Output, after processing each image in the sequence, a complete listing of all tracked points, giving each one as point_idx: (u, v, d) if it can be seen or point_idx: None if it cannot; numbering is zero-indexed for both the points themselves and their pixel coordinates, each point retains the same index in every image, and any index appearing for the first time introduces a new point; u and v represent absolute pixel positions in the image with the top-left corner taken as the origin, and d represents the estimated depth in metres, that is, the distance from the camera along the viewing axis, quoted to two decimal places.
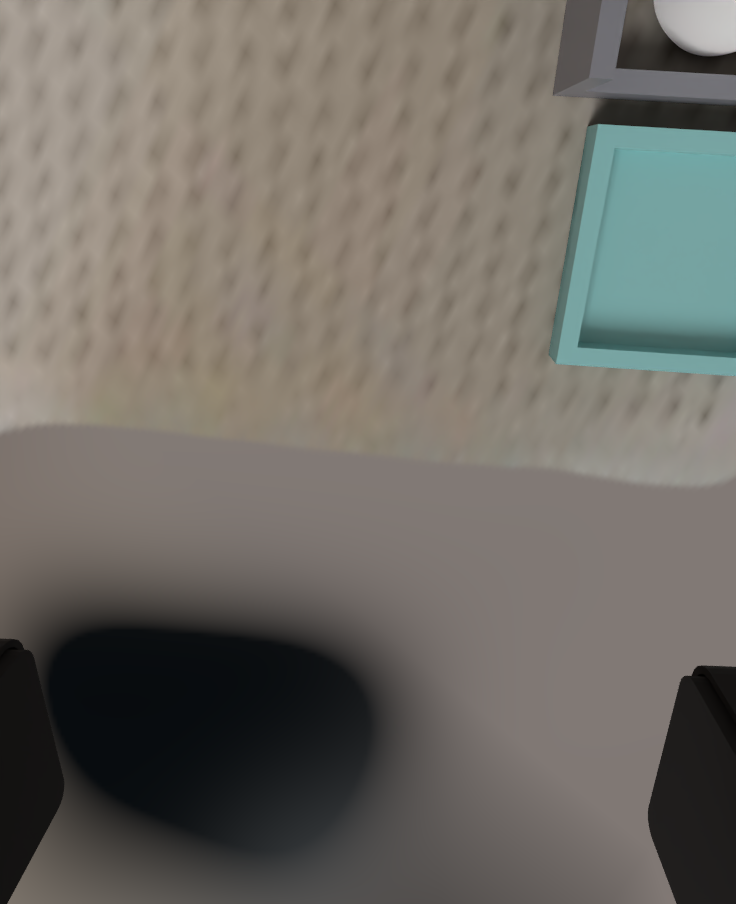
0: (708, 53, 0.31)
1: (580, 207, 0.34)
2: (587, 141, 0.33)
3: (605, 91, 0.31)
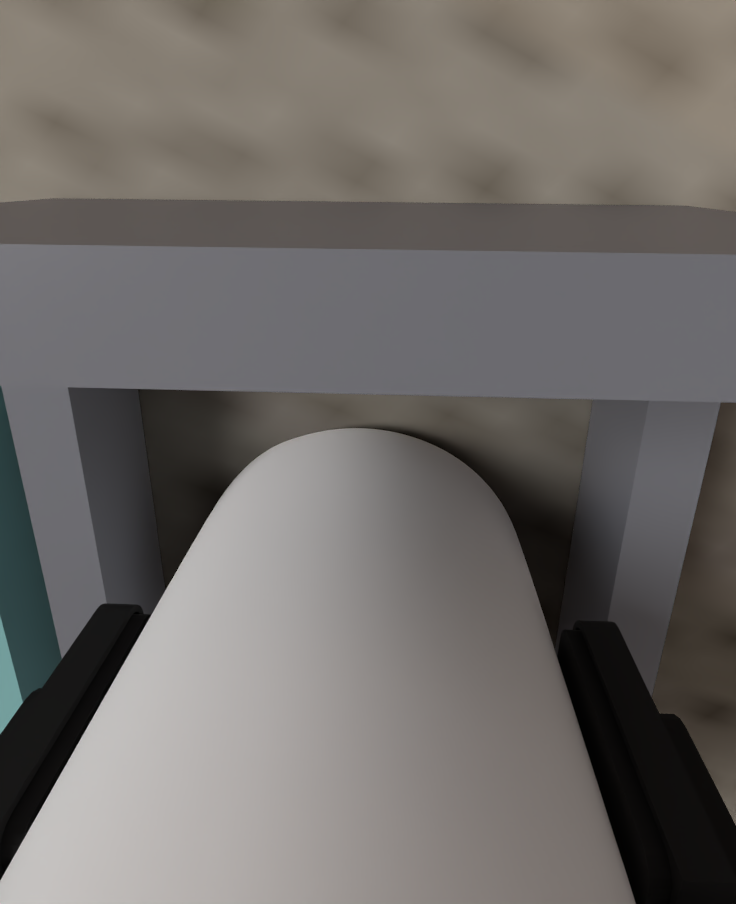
0: None
1: None
2: None
3: None
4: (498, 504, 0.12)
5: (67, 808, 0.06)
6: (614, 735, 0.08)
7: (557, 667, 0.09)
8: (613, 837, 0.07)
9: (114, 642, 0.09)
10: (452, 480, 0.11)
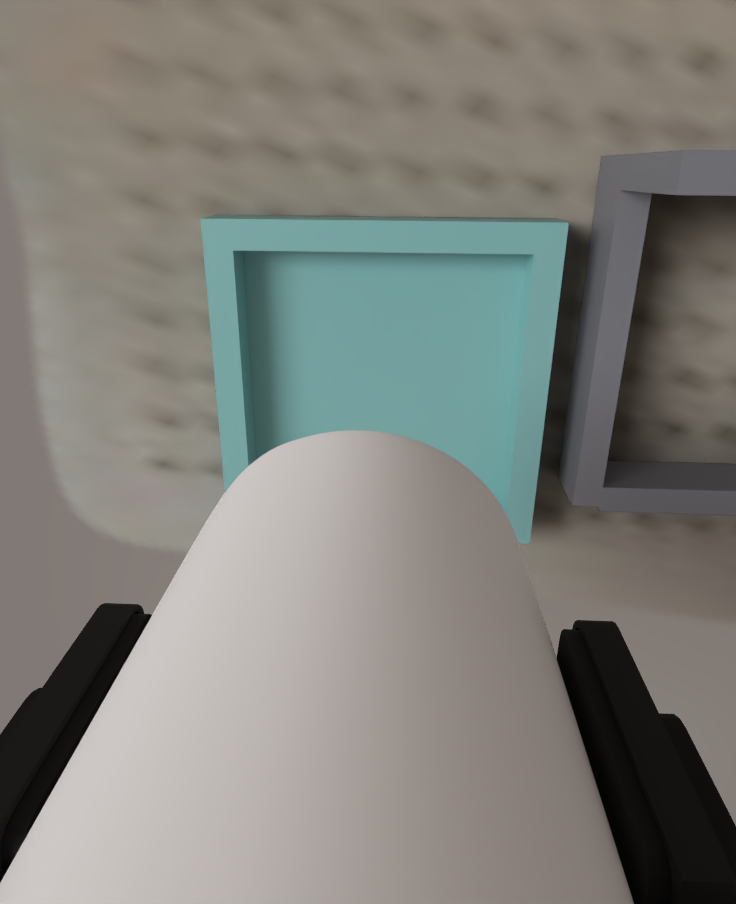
0: None
1: (448, 220, 0.22)
2: (537, 219, 0.22)
3: (615, 222, 0.21)
4: (498, 506, 0.12)
5: (65, 813, 0.06)
6: (614, 735, 0.08)
7: (557, 670, 0.08)
8: (613, 842, 0.06)
9: (114, 642, 0.09)
10: (452, 482, 0.11)
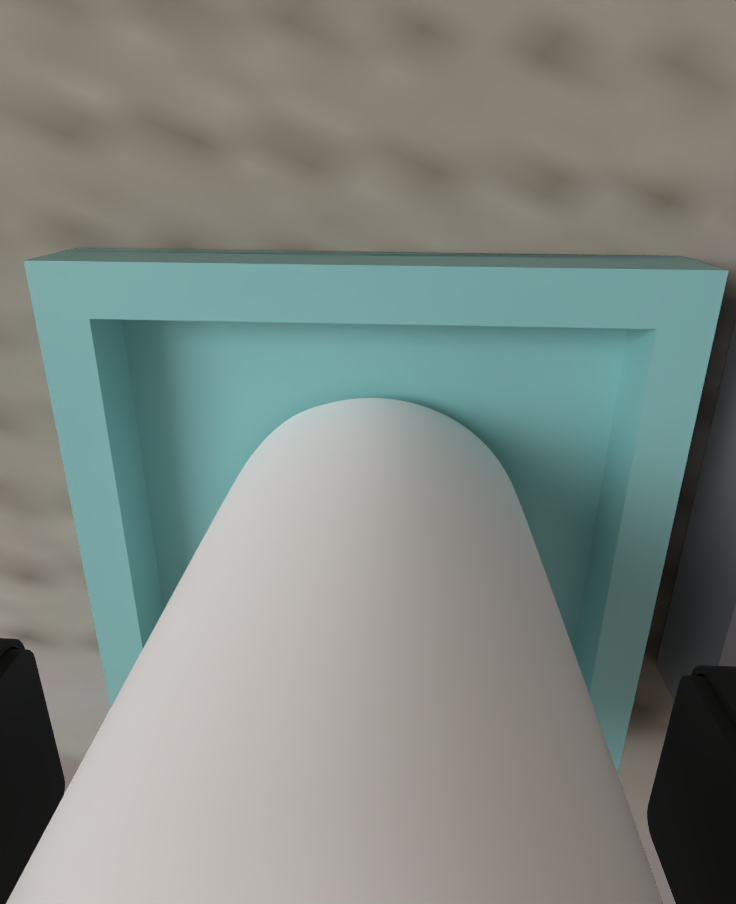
0: None
1: (492, 262, 0.12)
2: (653, 258, 0.12)
3: None
4: (501, 468, 0.13)
5: (149, 681, 0.07)
6: None
7: (554, 599, 0.10)
8: (600, 726, 0.08)
9: None
10: (461, 443, 0.12)
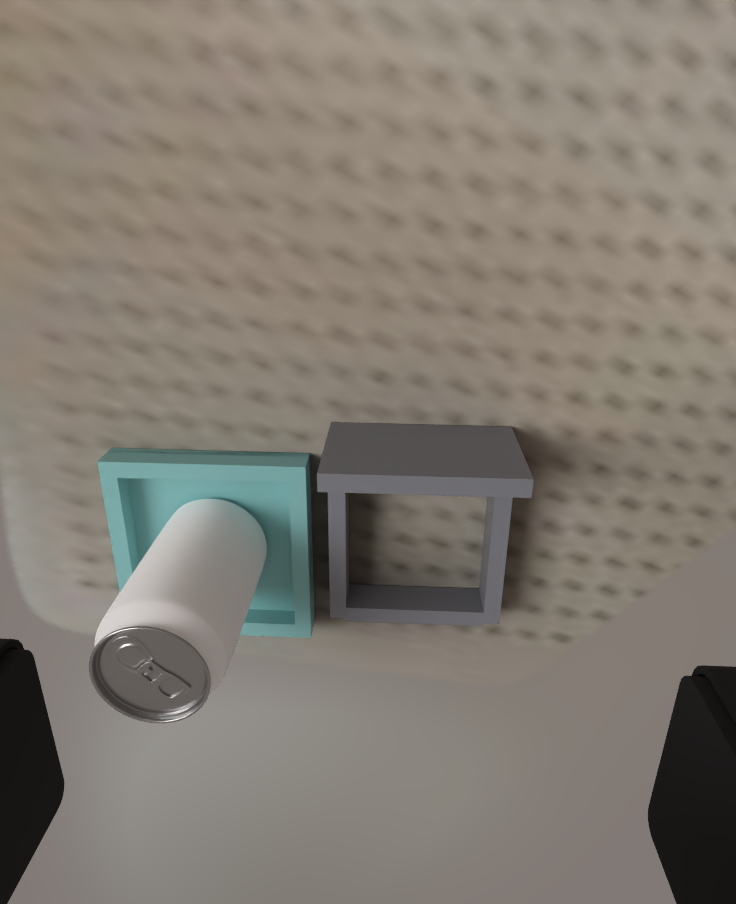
0: None
1: (240, 461, 0.38)
2: (296, 456, 0.38)
3: None
4: (253, 522, 0.39)
5: (133, 576, 0.33)
6: None
7: (244, 562, 0.36)
8: (236, 589, 0.34)
9: None
10: (233, 515, 0.38)
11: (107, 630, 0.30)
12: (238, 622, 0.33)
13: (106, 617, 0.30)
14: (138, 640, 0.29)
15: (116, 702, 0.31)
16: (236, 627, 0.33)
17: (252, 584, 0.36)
